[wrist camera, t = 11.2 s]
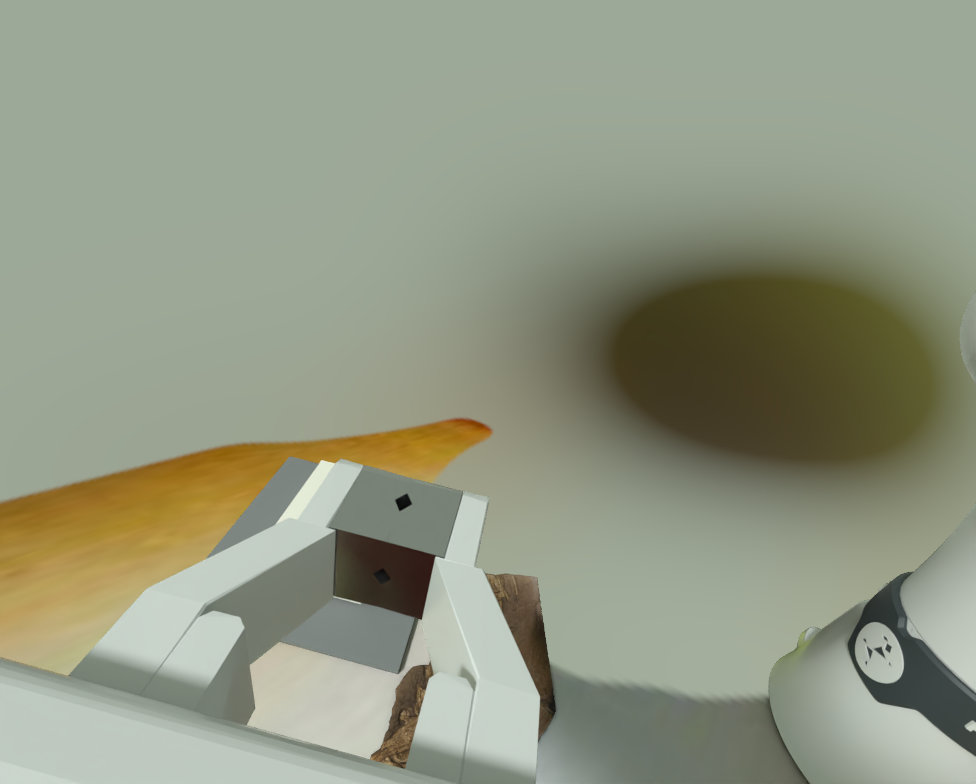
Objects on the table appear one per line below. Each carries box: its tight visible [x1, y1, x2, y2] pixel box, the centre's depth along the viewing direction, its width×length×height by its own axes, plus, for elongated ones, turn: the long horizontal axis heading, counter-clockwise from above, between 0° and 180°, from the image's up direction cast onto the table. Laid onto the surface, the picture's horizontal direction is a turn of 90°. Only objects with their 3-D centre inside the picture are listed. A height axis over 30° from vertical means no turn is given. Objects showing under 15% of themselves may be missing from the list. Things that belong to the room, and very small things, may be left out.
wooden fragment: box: [370, 574, 556, 769], centre depth 34 cm, size 26×11×1 cm, turn 156°
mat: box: [206, 457, 415, 674], centre depth 42 cm, size 18×18×1 cm
